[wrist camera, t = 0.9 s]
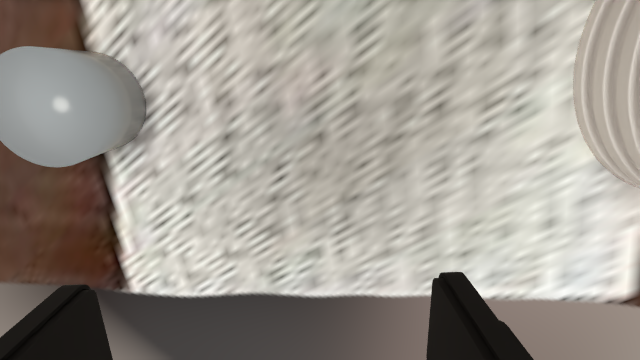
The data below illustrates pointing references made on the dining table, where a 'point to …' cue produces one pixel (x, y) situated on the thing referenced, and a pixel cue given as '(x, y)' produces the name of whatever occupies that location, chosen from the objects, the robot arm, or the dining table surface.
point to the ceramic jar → (66, 104)
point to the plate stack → (611, 86)
